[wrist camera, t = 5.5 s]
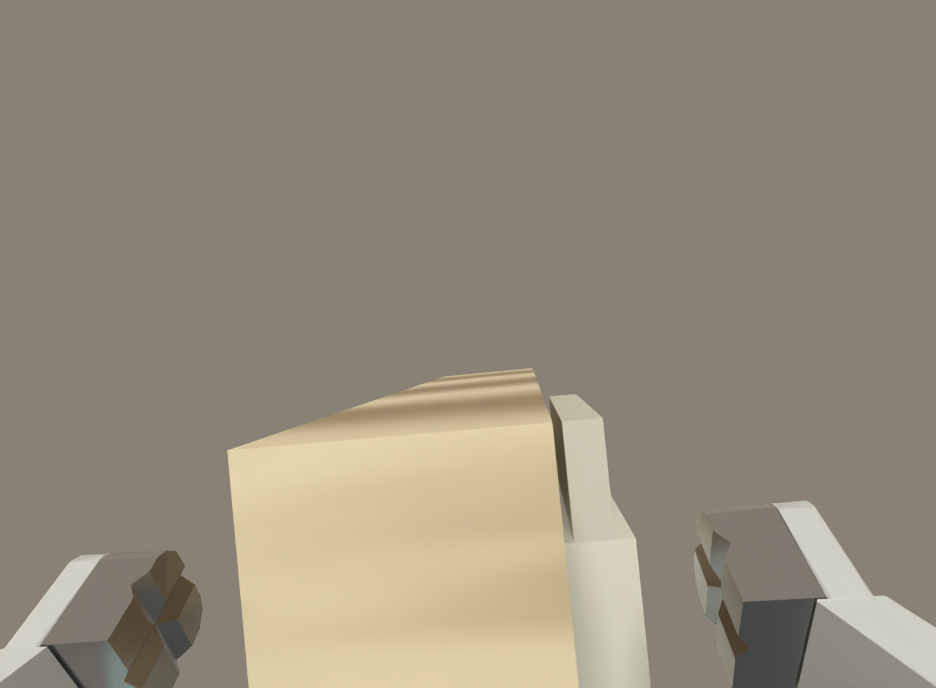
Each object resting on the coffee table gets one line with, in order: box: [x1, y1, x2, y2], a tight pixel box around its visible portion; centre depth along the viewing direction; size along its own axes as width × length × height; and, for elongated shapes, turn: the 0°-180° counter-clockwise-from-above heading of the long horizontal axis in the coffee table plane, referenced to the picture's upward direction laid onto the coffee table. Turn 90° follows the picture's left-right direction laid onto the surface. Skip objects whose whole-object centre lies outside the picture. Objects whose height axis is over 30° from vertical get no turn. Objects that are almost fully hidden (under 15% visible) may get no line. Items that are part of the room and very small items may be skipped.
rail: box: [228, 368, 579, 688], centre depth 17 cm, size 20×4×4 cm, turn 175°
